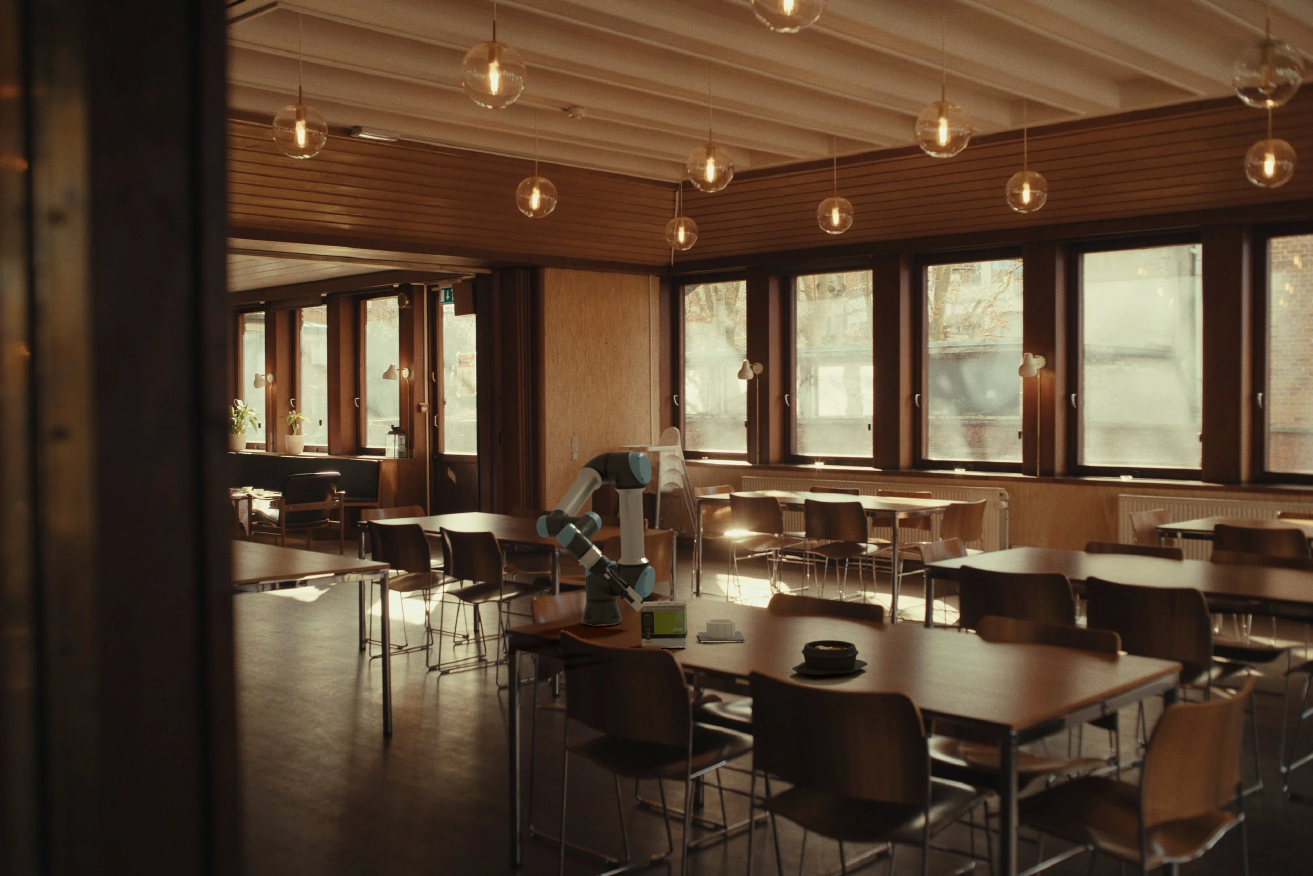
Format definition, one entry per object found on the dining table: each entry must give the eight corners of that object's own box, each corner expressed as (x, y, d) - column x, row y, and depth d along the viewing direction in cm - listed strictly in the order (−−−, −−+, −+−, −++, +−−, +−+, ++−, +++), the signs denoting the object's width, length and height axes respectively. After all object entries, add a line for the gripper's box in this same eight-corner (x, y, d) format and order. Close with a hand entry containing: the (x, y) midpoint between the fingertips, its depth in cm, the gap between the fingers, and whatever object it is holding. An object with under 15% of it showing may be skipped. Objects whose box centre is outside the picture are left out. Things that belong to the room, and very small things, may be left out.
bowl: (697, 635, 404) (697, 618, 404) (740, 634, 404) (739, 617, 404) (700, 643, 389) (700, 625, 389) (744, 642, 389) (744, 624, 389)
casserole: (823, 684, 327) (822, 655, 326) (778, 673, 341) (777, 645, 341) (882, 671, 342) (881, 643, 342) (836, 661, 357) (836, 635, 356)
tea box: (687, 643, 389) (687, 600, 389) (685, 649, 379) (684, 605, 379) (644, 643, 391) (643, 600, 391) (640, 649, 381) (639, 605, 381)
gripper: (588, 565, 395) (632, 607, 396) (585, 574, 370) (632, 620, 371) (603, 549, 395) (647, 592, 396) (602, 558, 371) (648, 603, 371)
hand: (640, 605), depth 384 cm, fingers open, 13 cm apart
